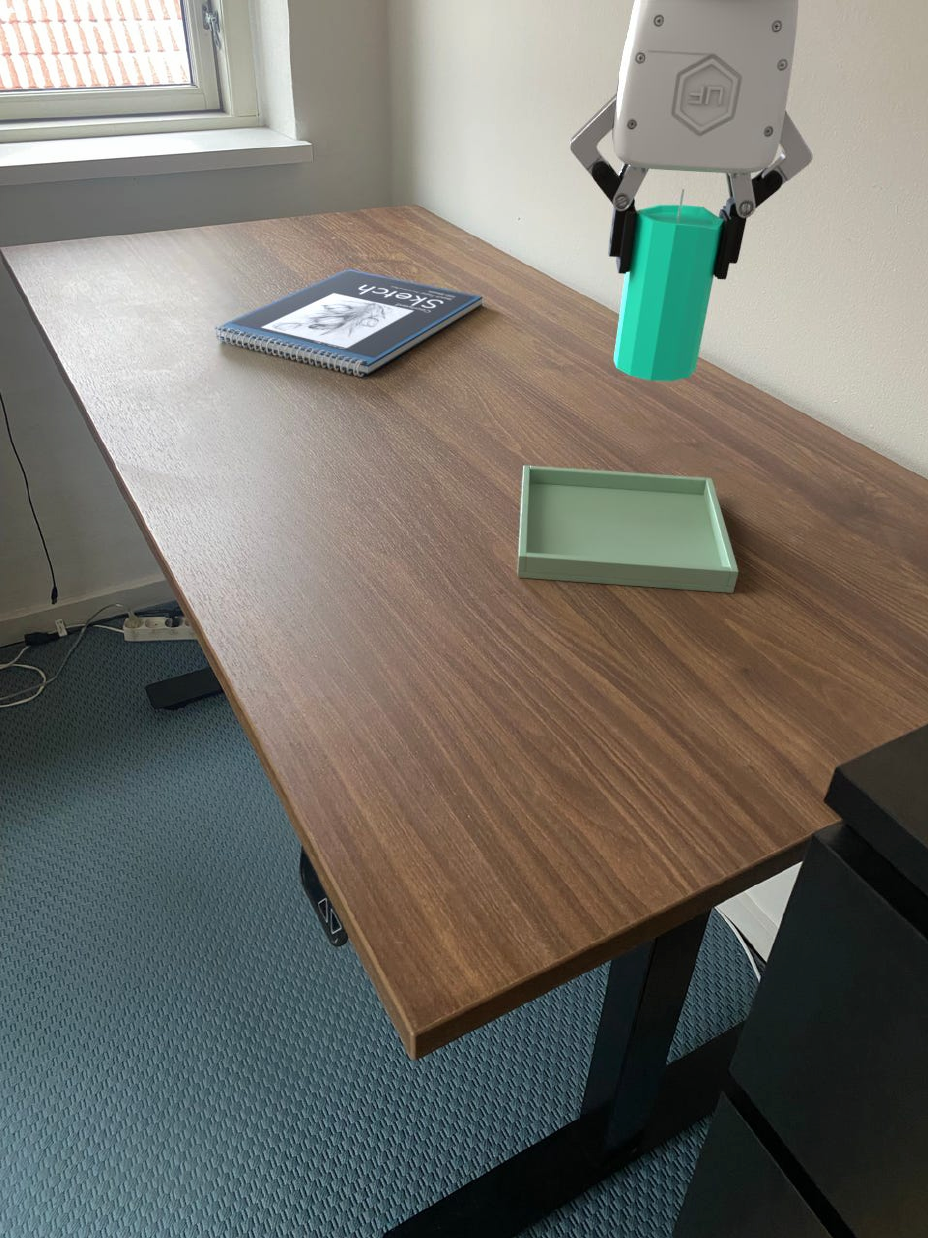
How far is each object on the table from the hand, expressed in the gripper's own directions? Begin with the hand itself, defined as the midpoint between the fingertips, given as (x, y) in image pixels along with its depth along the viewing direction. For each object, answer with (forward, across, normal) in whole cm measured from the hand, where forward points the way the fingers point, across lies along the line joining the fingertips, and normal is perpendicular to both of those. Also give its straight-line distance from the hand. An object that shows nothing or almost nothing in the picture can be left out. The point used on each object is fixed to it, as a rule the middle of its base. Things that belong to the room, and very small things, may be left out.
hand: (670, 267), depth 64 cm
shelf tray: (+23, 0, +2) cm, 23 cm away
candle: (+7, 0, 0) cm, 7 cm away
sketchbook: (+23, -31, +50) cm, 63 cm away
